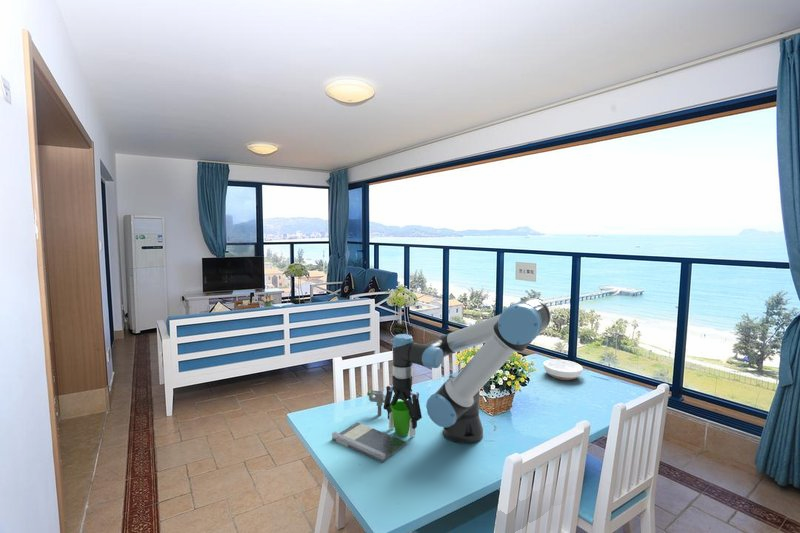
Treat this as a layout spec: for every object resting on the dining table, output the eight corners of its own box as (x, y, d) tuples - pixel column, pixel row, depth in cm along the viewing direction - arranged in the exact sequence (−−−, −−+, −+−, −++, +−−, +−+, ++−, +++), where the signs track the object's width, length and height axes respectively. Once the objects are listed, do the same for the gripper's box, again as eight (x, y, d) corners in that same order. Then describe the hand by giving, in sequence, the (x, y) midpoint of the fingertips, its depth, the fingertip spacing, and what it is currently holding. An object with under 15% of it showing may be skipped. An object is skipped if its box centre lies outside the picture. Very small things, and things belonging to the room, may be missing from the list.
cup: (386, 436, 148) (386, 408, 147) (395, 425, 156) (395, 398, 155) (408, 441, 145) (408, 412, 144) (416, 429, 153) (417, 402, 152)
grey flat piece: (406, 444, 143) (406, 437, 142) (382, 462, 131) (382, 455, 131) (357, 424, 157) (357, 418, 156) (332, 439, 145) (332, 433, 145)
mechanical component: (390, 418, 162) (390, 394, 161) (366, 415, 164) (366, 392, 163) (392, 414, 165) (392, 392, 164) (368, 412, 167) (368, 389, 166)
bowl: (546, 382, 202) (547, 370, 201) (539, 368, 221) (540, 358, 220) (587, 384, 199) (587, 373, 198) (576, 371, 218) (576, 360, 217)
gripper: (432, 378, 145) (431, 436, 147) (385, 366, 158) (385, 419, 160) (421, 385, 139) (420, 445, 141) (374, 371, 152) (374, 427, 154)
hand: (401, 431), depth 150 cm, fingers closed on cup, 9 cm apart
